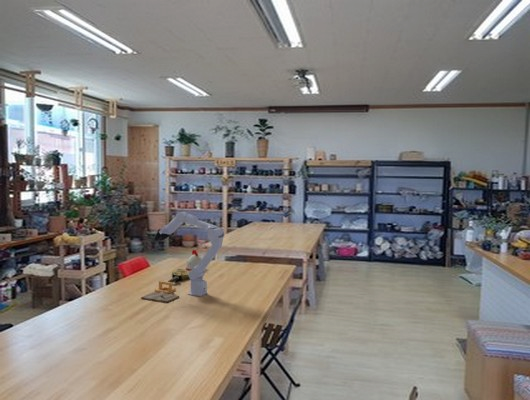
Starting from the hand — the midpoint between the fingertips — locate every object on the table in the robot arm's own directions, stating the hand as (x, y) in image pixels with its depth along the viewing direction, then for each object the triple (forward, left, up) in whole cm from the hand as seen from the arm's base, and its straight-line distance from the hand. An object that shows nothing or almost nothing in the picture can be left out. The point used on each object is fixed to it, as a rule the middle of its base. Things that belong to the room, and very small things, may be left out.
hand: (159, 238), depth 255 cm
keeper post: (-15, +17, -32) cm, 39 cm away
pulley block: (+2, -25, -32) cm, 41 cm away
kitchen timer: (+9, -57, -32) cm, 66 cm away
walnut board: (-14, +17, -32) cm, 39 cm away
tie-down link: (-8, +4, -32) cm, 33 cm away
